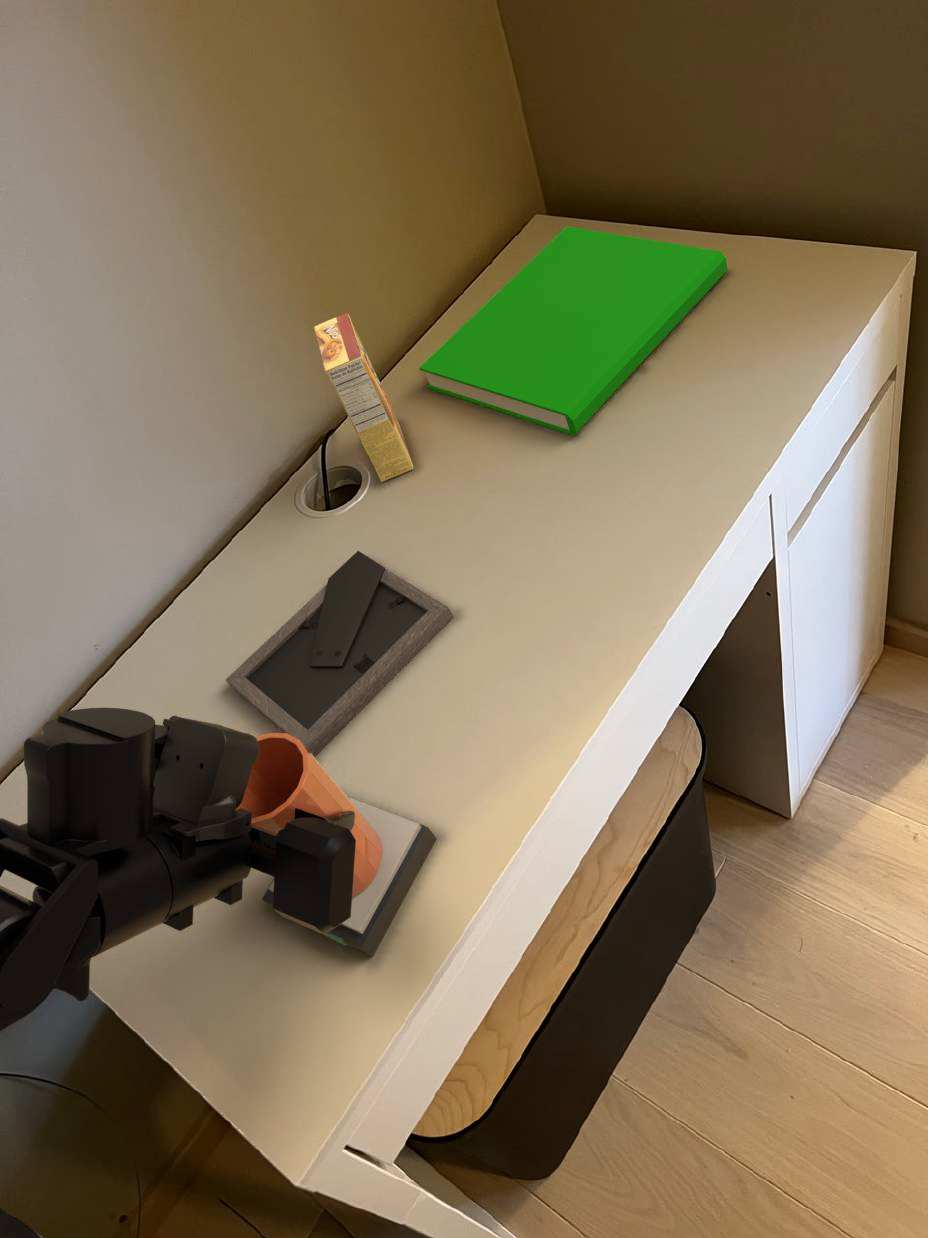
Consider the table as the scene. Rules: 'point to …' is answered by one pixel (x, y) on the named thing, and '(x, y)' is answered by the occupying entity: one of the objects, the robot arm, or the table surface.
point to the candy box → (362, 396)
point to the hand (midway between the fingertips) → (313, 804)
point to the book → (572, 326)
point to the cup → (304, 798)
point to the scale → (382, 879)
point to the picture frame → (339, 651)
